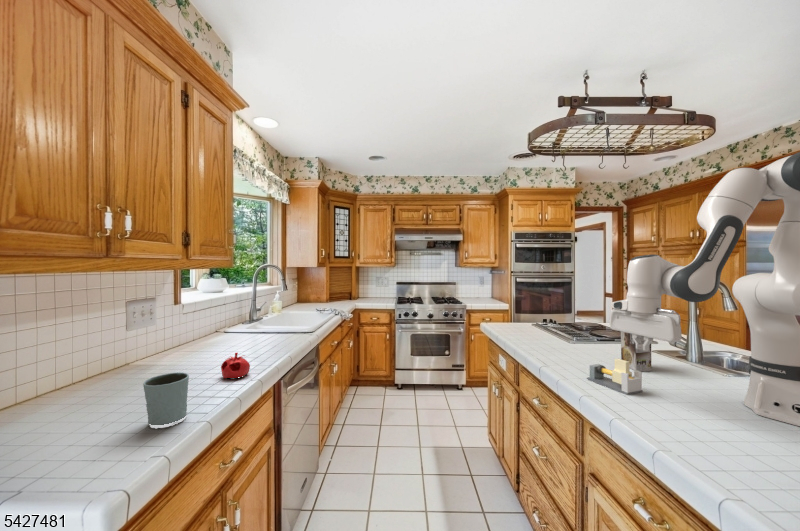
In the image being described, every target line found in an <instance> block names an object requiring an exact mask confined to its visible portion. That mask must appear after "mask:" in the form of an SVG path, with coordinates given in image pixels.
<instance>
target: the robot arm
mask: <svg viewBox="0 0 800 531" xmlns="http://www.w3.org/2000/svg"><path fill="white" fill-rule="evenodd" d="M780 200H782V201H783V206H784V209H783V214H782V215H781V217H780V220H779V222H778V225H777V226H776V229H775V231H774V234H773V236H772V238H771V241H770V243H769V246H768V252H769V254H770V255H772V257H773V271H772V272H758V273H752V274H747V275H743V276H740V277H739V278H738V279H736V280H735V281H734V282H733V285H732V288H731V289H732V295H733V297H734V298H735V300H737V301H738V302H739V304H740V306H741V307H742V309H743V312H744V315H745V317H746V320H747V324H748V326H749V331H750V356H748V374H749V375H750V376H749V382H748V388H747V390H746V391H747V392H746V394H745V397H744V399H743V402H742V403H743V405H745V406H746V407H747V408H749V409H751V410H752V411H753V412H754V414H756V415H759V416H760V417H764V418H768V419H772V420H776V421H778V422H779V421H780V422H782V423H787V424H790V425H794V426H798V427H800V323H799V322H798V320H797V317H796V316H800V151H799V152H796V153H794V154H792V155H788V156H785V157H783V158H780V159H777V160H776V161H773V162H771V163H770V164H767V165H766V166H763V167H761V168H759V169H756V168H752V167H739V168H734V169H732V170H730V171H729V172H727V173H726V174H725V175H724V176H723V177H722V178H721V179H720V180H719V181H718V183H716V185H715V186H714V187H713V188H712V189H711V190H710V192H709V193H708V196H707V197H706V198H705V200H704V201H703V202H702V204H701V206H700V207H699V210H698V213H697V216H696V221H697V224H698V225H699V226H700V228H702V229H703V230H704V231H706V237H705V239H704V241H703V243H702V244H701V246H700V248H699V250H698V251H697V254H696V255H695V258H694V259H693V260H692V261H691V262H690V263H689V264H687V265H685V266H684V265H680V264H676V263H674V262H671V261H668V260H666V259H665V258H662V257H661V256H660V255H658V254H644V255H638V256H634V257H632V258H631V259H629V262H628V266H627V275H626V284H627V293H626V298H625V299H622V300H616V301H612V302H611V303H610V306H611V307H610V308H612V309H611V310H610V312H609V320H608V321H609V327H610V329H611V330H613V331H617V332H620V333H621V332H626V333H631V334H632V338H633V340H634V342H635V343H636V349H639V350H643V351H648V350H649V345H650V344H651V345H652V343H653V342H654V339H655V340H659V341H662V342H663V341H664V342H668V343H679V342H680V341H681V340H682V338H683V337H682V327H681V315H680V313H678V312H676V311H675V310H673V309H666V308H662V295H667V296H669V297H674V298H678V299H682V300H684V301H686V302H690V303H701V302H706V301H708V300H710V299H711V298H713V297H714V296H715V295H716V294H717V292H718V290H719V288H720V284H721V276H722V271H723V269H724V268H725V266H726V264H727V262H728V260H729V258H730V256H731V255H732V253H733V252H734V249H735V248H736V245H737V244H738V242H739V240H740V238H741V235H742V234H743V230H744V227H745V225H746V223H747V221H748V220H749V218H750V217H751V215H752V214H753V212H754V210H755V209H756V207H757V206H758V204H759V202H773V201H775V202H776V201H780ZM641 336H644V340H646V341H645V342H644V344H642V343H641V340H640V338H641Z"/></svg>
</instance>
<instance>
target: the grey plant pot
mask: <svg viewBox="0 0 800 531" xmlns="http://www.w3.org/2000/svg"><path fill="white" fill-rule="evenodd" d="M189 379H190V374H189V373H187V372H170V373H169V372H168V373H163V374H160V375H156V376H153V377H150V378H148V379H146V380H145V381H144V382H143V385H142V386H143V392H144V399H145V402H146V405H145V407H146V412H147V419H148V420H147V422H148V423H149V424H151V425H164V424H169V423H172V422H175V421H178V420H180V419H182V418H184V417H185V416H186V415H187V414H188V412H187V410H188V408H187V407H188V403H187V402H188V393H189V391H188V390H189ZM148 423H147V424H148ZM149 424H148V425H149Z"/></svg>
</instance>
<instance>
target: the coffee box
mask: <svg viewBox="0 0 800 531" xmlns="http://www.w3.org/2000/svg"><path fill="white" fill-rule="evenodd" d="M640 340H641V343H642V344H644V342H645V341H646V340H644V336H641V338H640ZM620 350H621V352H620V353H621V354H620V356H621V357H620V358H621V360H624V361H628V362H629V369H630V370H633V371H634V370H637V371H640V372H652V343H651V344H650V345H649V350H648V351H643V350H639V349H636V343H635V342H634V340H633V338H632V334H631V333H626V332H621V331H620Z"/></svg>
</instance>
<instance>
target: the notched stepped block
mask: <svg viewBox="0 0 800 531" xmlns="http://www.w3.org/2000/svg"><path fill="white" fill-rule="evenodd" d="M611 371H612V376H611V379H612V381H613V382H616V383H619V384H622V378H621V372H624V373H627V374H629V376H630V377H633V372H631V371H630V368H629V362H628V361H624V360H621V359H620V358H614V369H612V370H611Z"/></svg>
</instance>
